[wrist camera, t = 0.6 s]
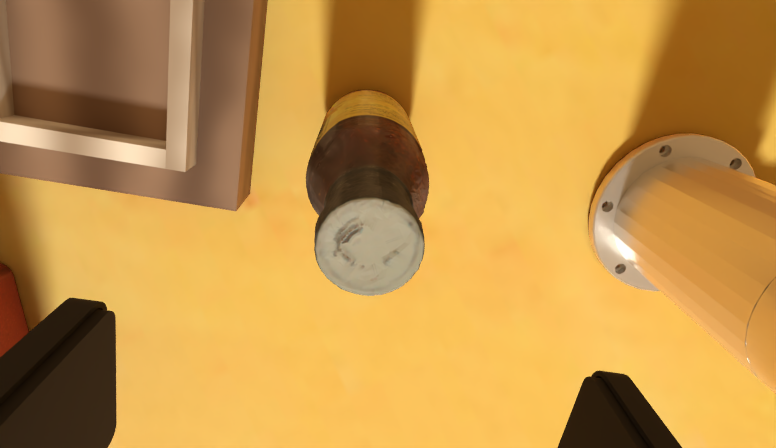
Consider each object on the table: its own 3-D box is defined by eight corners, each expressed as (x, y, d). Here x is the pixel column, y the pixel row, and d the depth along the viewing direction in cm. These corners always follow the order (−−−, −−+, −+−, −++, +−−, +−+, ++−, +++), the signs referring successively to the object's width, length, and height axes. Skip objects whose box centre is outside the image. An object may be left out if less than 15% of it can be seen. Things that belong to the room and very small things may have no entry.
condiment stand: (274, -77, 31) (253, -101, 26) (249, 193, 38) (228, 221, 32) (-29, -142, 30) (-122, -183, 24) (-3, 152, 36) (-73, 173, 30)
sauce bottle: (312, 101, 35) (246, 175, 17) (398, 76, 35) (426, 124, 16) (340, 186, 38) (308, 335, 19) (420, 164, 37) (468, 294, 19)
